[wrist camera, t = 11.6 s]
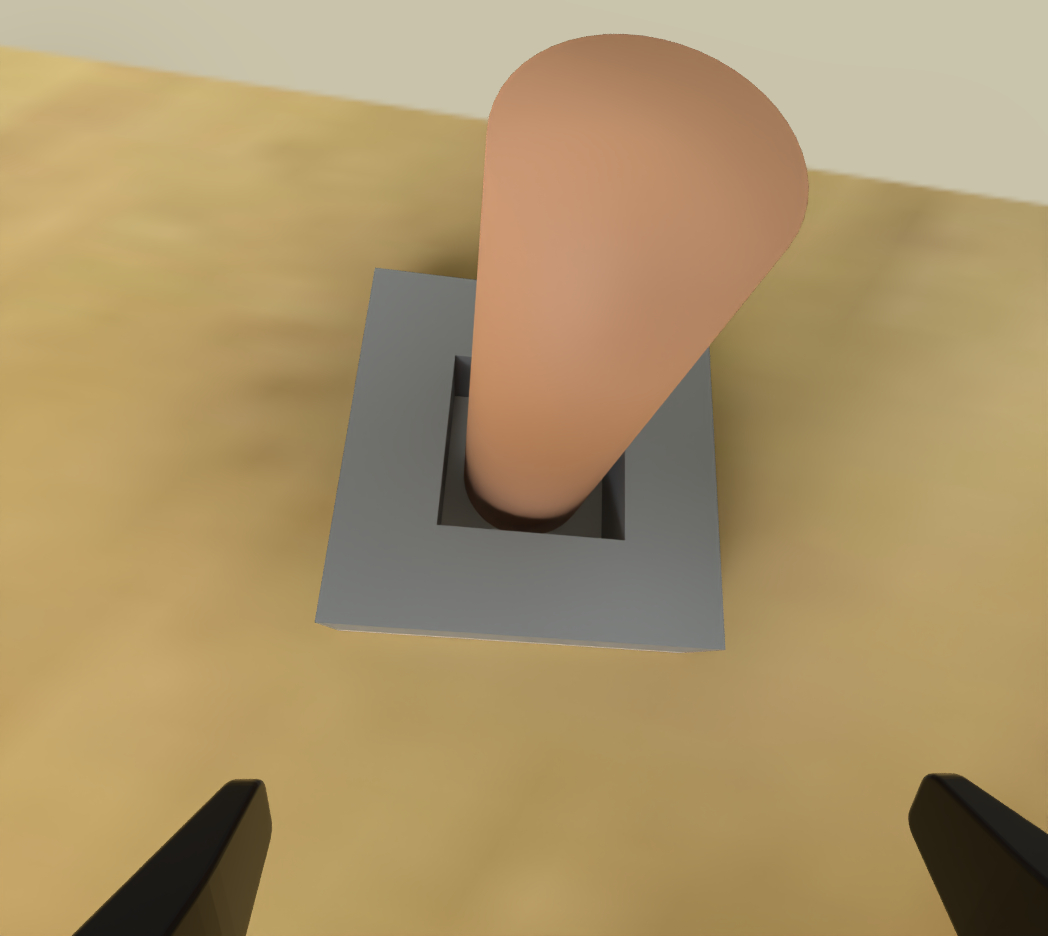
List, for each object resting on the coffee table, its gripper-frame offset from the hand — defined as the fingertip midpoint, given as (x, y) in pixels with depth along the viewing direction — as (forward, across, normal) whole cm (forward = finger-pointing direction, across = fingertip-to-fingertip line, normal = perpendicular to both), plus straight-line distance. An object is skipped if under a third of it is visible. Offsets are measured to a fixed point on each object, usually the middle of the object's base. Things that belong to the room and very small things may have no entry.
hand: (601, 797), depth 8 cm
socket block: (+14, 0, +2) cm, 14 cm away
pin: (+14, 0, +1) cm, 14 cm away
